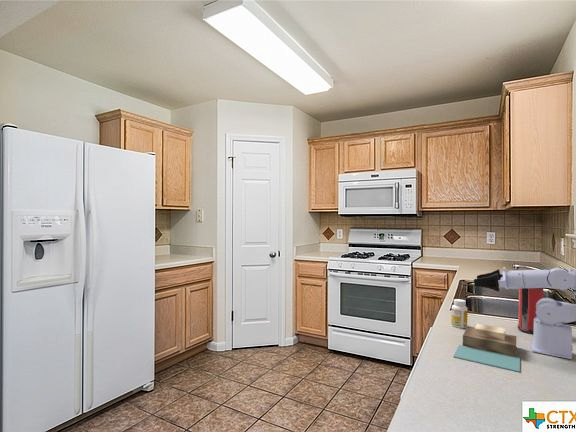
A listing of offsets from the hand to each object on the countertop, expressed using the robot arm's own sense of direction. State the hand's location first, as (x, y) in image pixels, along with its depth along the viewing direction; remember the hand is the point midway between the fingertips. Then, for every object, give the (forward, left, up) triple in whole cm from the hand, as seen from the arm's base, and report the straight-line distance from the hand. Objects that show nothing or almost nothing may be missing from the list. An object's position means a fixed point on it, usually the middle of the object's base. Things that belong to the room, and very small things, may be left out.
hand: (475, 280), depth 118 cm
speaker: (-16, -19, -19) cm, 32 cm away
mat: (-5, +18, -19) cm, 27 cm away
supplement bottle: (+6, -9, -19) cm, 22 cm away
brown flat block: (-5, +8, -19) cm, 21 cm away
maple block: (-5, +7, -16) cm, 18 cm away
